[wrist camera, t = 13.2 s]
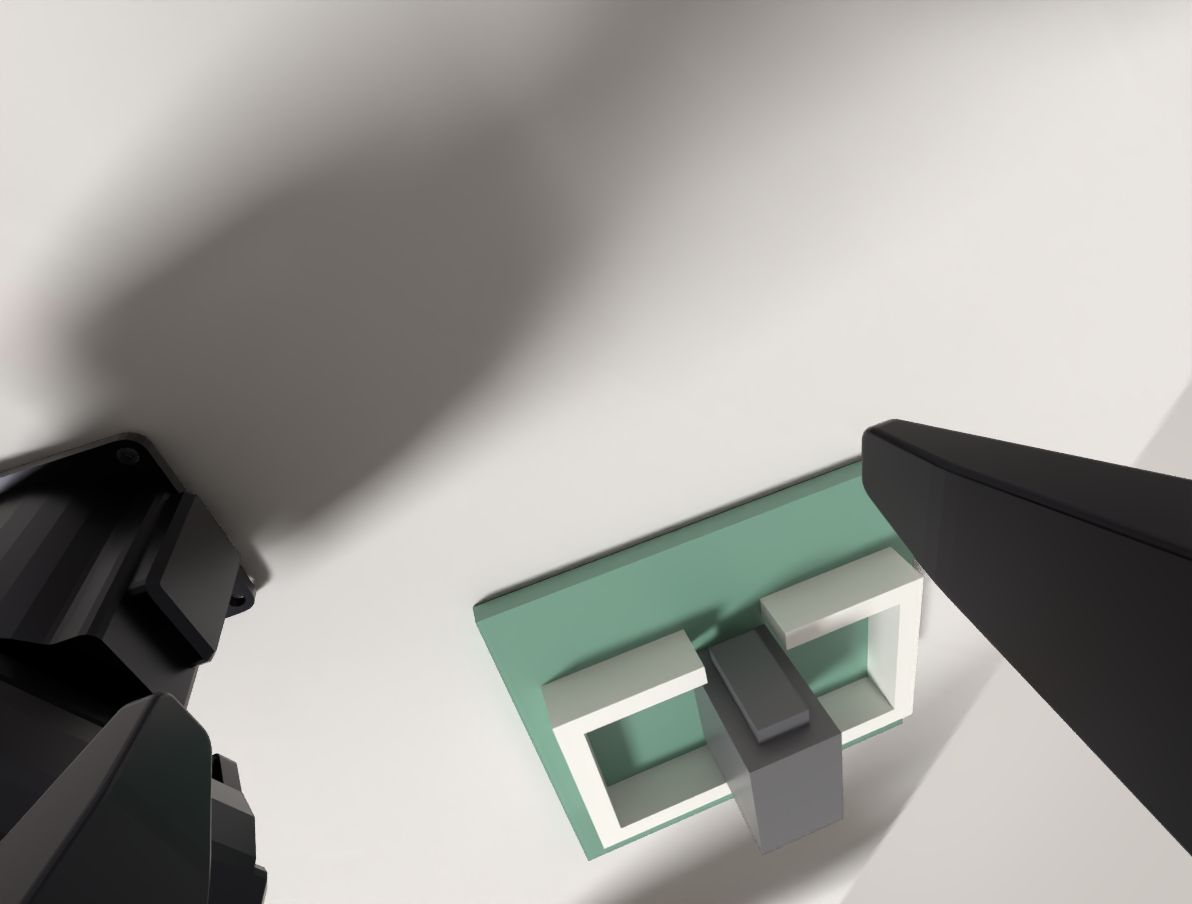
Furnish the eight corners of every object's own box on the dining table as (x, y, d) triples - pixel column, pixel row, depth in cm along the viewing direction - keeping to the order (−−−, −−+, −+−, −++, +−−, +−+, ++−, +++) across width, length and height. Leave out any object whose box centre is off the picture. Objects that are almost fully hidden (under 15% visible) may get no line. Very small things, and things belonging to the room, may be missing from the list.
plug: (704, 737, 31) (762, 854, 26) (683, 641, 27) (747, 758, 22) (773, 708, 31) (842, 818, 26) (762, 609, 27) (841, 718, 23)
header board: (584, 845, 34) (599, 903, 31) (472, 607, 24) (483, 665, 21) (892, 711, 36) (928, 755, 34) (907, 442, 26) (959, 479, 24)
